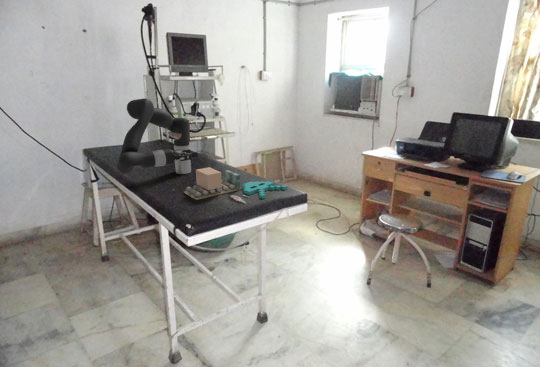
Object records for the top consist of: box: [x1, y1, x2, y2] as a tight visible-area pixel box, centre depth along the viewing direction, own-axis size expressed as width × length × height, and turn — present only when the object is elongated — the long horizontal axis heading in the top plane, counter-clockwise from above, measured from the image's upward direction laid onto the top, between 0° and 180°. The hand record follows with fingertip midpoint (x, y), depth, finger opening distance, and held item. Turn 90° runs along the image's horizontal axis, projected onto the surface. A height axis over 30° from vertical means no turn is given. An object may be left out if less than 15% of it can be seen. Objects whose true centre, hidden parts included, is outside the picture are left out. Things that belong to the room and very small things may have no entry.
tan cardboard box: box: [195, 166, 223, 190], centre depth 191 cm, size 12×8×8 cm, turn 39°
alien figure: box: [242, 180, 288, 200], centre depth 198 cm, size 20×2×20 cm
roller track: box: [183, 169, 243, 201], centre depth 193 cm, size 13×27×8 cm, turn 129°
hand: (193, 153), depth 182 cm, fingers open, 7 cm apart
